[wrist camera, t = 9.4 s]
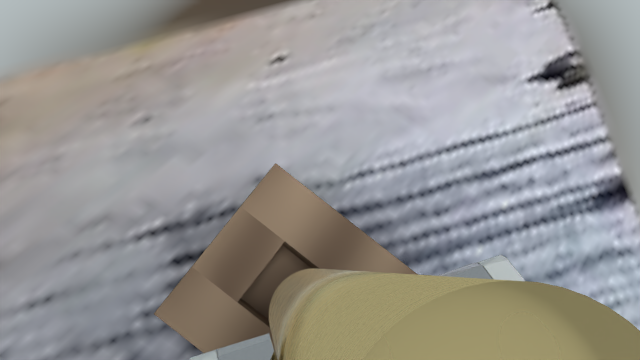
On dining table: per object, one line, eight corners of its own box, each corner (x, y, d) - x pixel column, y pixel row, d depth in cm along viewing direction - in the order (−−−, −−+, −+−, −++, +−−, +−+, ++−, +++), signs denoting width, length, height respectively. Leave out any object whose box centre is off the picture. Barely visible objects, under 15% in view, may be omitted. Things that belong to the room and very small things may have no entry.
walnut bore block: (169, 306, 38) (153, 313, 32) (272, 178, 40) (275, 163, 34) (300, 408, 38) (308, 435, 32) (396, 275, 40) (420, 277, 34)
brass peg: (249, 323, 20) (224, 549, 4) (306, 250, 20) (475, 200, 5) (322, 379, 20) (579, 827, 4) (375, 305, 20) (783, 442, 5)
